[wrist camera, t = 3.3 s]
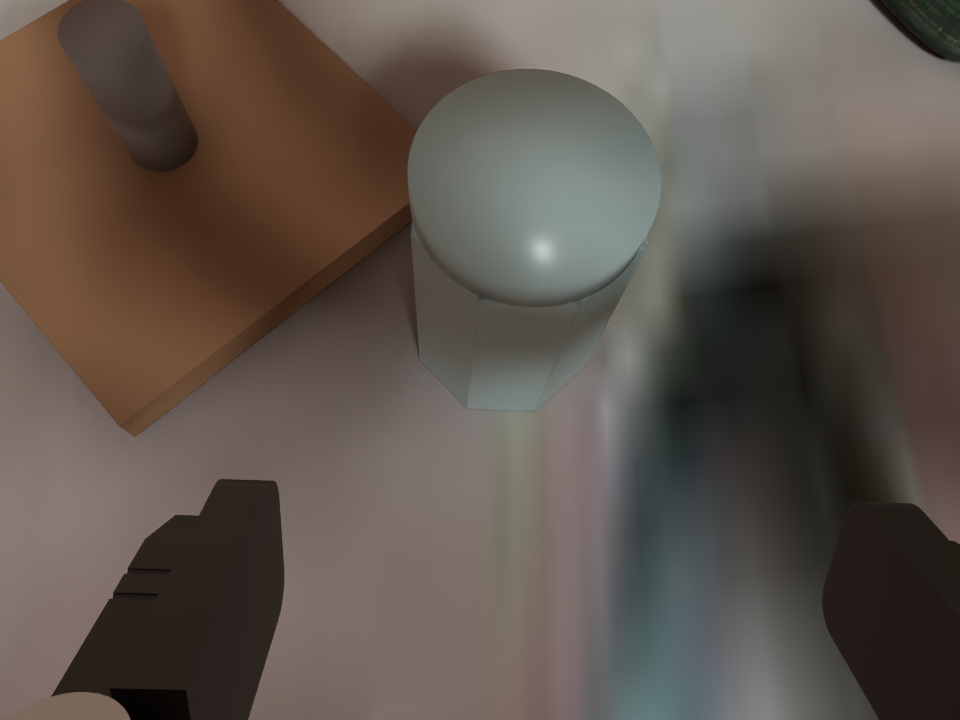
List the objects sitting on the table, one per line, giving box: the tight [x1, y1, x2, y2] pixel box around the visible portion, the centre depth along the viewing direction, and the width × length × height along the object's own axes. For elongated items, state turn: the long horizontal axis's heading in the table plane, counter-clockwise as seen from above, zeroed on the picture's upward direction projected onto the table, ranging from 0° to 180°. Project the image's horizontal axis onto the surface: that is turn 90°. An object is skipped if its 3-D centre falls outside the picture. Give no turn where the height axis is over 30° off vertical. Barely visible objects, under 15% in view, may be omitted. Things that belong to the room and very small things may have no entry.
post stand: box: [0, 0, 417, 436], centre depth 23 cm, size 13×14×6 cm
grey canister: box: [408, 69, 661, 412], centre depth 21 cm, size 5×5×9 cm
